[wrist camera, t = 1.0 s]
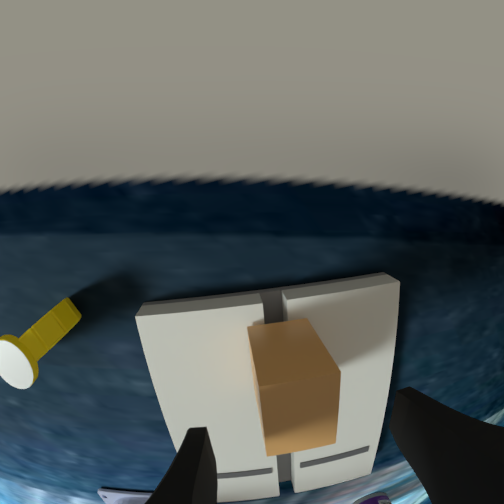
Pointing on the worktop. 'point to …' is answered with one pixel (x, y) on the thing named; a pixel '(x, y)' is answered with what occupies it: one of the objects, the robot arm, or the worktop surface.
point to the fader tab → (294, 386)
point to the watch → (35, 344)
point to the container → (374, 499)
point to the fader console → (242, 386)
